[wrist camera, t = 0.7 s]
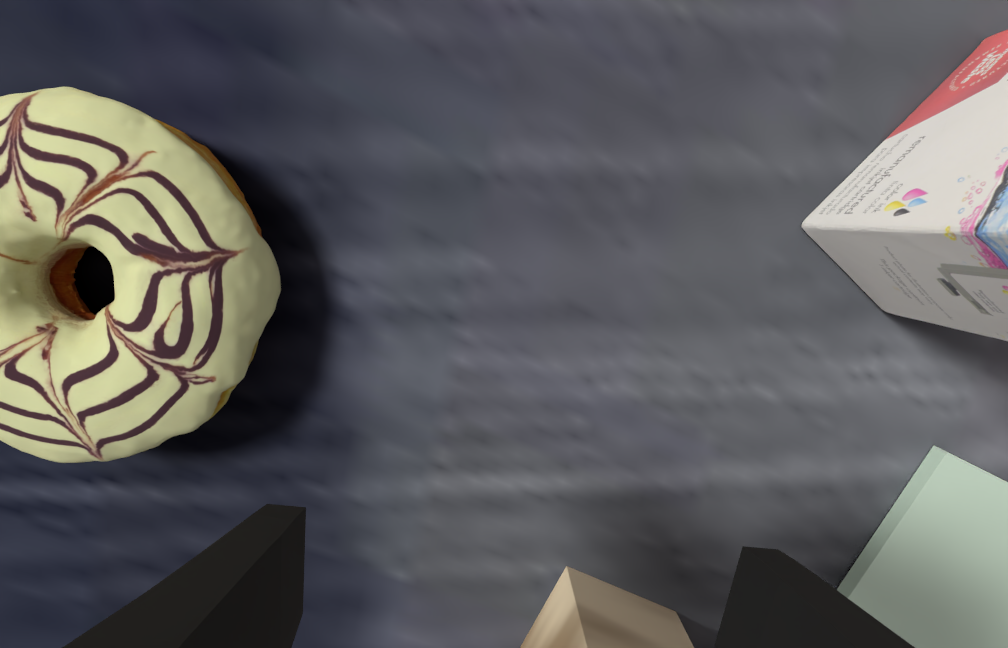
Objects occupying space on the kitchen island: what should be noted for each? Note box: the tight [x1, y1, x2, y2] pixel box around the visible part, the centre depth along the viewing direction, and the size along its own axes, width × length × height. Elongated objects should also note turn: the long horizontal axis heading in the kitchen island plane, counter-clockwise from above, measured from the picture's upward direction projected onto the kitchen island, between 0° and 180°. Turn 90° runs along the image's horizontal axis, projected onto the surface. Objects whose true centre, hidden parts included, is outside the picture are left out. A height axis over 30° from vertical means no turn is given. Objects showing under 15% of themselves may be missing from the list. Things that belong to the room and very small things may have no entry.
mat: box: [837, 445, 1008, 648], centre depth 22 cm, size 12×12×1 cm
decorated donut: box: [0, 87, 281, 463], centre depth 16 cm, size 10×11×4 cm
